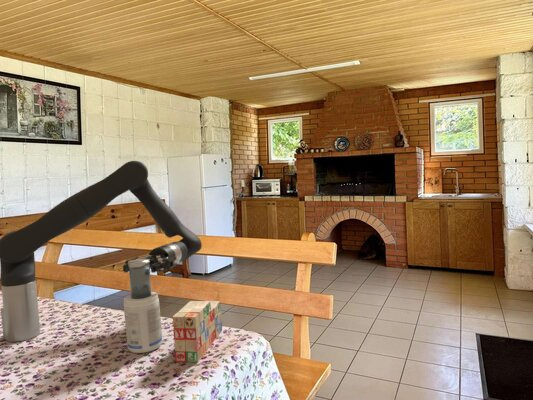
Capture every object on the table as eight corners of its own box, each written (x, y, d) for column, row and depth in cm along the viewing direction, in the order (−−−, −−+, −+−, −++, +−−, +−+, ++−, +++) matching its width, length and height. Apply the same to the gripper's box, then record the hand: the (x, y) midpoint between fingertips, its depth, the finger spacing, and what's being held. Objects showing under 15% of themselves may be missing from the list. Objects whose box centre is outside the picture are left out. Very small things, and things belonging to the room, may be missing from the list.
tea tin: (126, 298, 109) (124, 263, 108) (137, 292, 114) (135, 258, 114) (145, 299, 107) (142, 263, 107) (155, 293, 113) (153, 258, 112)
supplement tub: (159, 337, 118) (155, 289, 117) (165, 349, 109) (162, 297, 108) (125, 344, 114) (121, 294, 113) (129, 357, 105) (125, 303, 104)
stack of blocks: (203, 330, 122) (200, 291, 121) (222, 330, 121) (220, 291, 120) (175, 362, 101) (172, 315, 100) (198, 363, 100) (195, 316, 99)
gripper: (144, 245, 127) (114, 255, 111) (185, 244, 123) (160, 255, 108) (146, 268, 127) (116, 282, 111) (187, 268, 124) (162, 282, 108)
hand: (138, 269), depth 109 cm, fingers open, 8 cm apart
